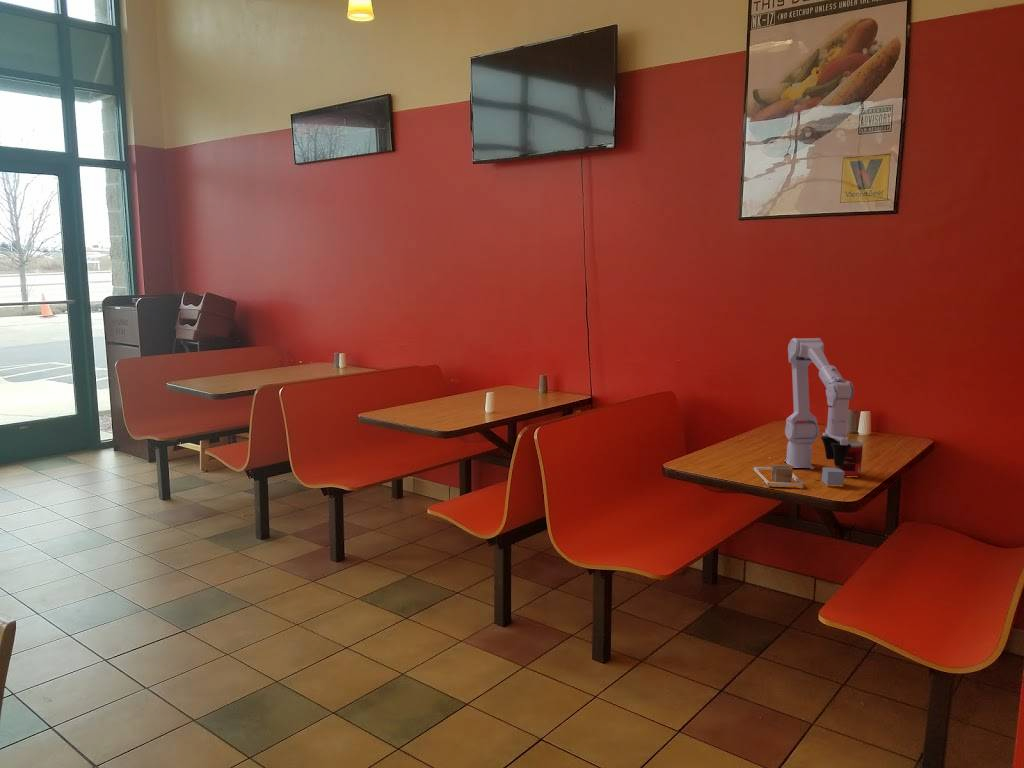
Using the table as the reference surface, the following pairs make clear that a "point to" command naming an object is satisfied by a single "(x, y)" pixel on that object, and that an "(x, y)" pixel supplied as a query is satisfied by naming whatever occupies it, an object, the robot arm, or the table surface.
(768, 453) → the table surface
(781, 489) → the table surface
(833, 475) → the slate-blue block
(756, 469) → the white flat frame
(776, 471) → the translucent beige cube
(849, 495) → the table surface
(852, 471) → the canned food
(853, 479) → the table surface
